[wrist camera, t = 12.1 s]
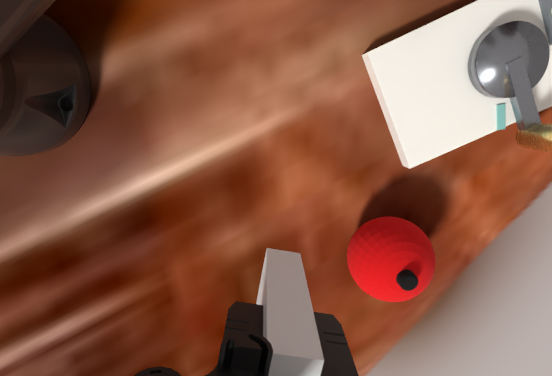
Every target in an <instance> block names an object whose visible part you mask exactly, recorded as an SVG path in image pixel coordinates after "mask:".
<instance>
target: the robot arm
mask: <svg viewBox="0 0 552 376" xmlns="http://www.w3.org/2000/svg"><path fill="white" fill-rule="evenodd" d="M55 1H56V0H0V155H6V156H25V155H32V154H37V153H42V152H46V151H49V150H52V149H55V148H57V147H59V146H61V145H62V144H64V143H65V142H67V141H68V140H69V139H70V138H71V137H73V136H74V134H75V133H76V132H77V131H78V130H79V128H80V127H81V125H82V124H83V122H84V120H85V117H86V115H87V112H88V108H89V104H90V96H91V86H90V77H89V73H88V69H87V66H86V63H85V60H84V58H83V56H82V54H81V52H80V50H79V48H78V46H77V45H76V43H75V42H74V40H73V39H72V38H71V37H70V35H69V34H68V33H67V32H66V31H65V30H64V29H63V28H62V27H61V26H60V25H59V24H58V23H57V22H55V21H54V20H53V19H51V18H50V17H48V16H47V15H45V14H44V12H45V11H46V10H47V9H48V8H49V7H50V6H51V5H52V4H53V3H54V2H55ZM135 376H181V375H180V374H179V373H178V372H176V371H174V370H172V369H171V368H166V367H152V368H148V369H145V370H143V371H140V372H138V373H137V374H136V375H135ZM205 376H358V373H357V370H356V367H355V364H354V361H353V358H352V355H351V352H350V349H349V346H348V345H347V341H346V338H345V337H344V332H343V329H342V326H341V324H340V323H339V322H338V320H337V319H336V318H335V317H334V316H333V315H331V314H324V313H317V312H313V308H312V304H311V299H310V295H309V291H308V286H307V282H306V277H305V273H304V268H303V264H302V259H301V255H300V253H294V252H288V251H282V250H276V249H270V248H267V250H266V255H265V260H264V266H263V271H262V276H261V281H260V286H259V292H258V297H257V302H256V304H250V303H244V302H237V301H236V302H235V303H234V304H233V305H232V306H231V307H230V308H229V309H228V315H227V320H226V325H225V331H224V336H223V341H222V344H221V348H220V354H219V360H218V364H217V366H216V367H215V369H214V370H213V371H212V372H210V373H209V374H208V375H205Z"/></svg>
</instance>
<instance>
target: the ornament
mask: <svg viewBox="0 0 552 376" xmlns="http://www.w3.org/2000/svg"><path fill="white" fill-rule="evenodd" d="M347 262H348V267H349V270H350V273H351V275H352V277H353V279H354V280H355V282H356V283H357V285H358V286H359V287H360V288H361V289H362V290H363V291H364V292H366V293H367V294H369V295H371V296H372V297H374V298H376V299H379V300H383V301H389V302H401V301H406V300H408V299H411V298H413V297H415V296H417V295H418V294H420V293H421V292H422V291H423V290H424V289H425V288H426V287H427V286H428V285H429V283H430V281H431V279H432V277H433V274H434V270H435V253H434V250H433V247H432V244H431V242H430V240H429V239H428V237H427V236H426V234H425V233H424V232H423V231H422V230H421V229H420V228H419V227H418V226H416V225H415V224H413V223H411V222H410V221H407V220H405V219H402V218H398V217H391V216H390V217H379V218H375V219H372V220H370V221H368V222H366V223H365V224H363V225H362V226H361V227H360V228H358V229H357V231H356V232H355V233H354V235H353V236H352V238H351V240H350V242H349V246H348V251H347Z"/></svg>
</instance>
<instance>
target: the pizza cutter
mask: <svg viewBox="0 0 552 376" xmlns="http://www.w3.org/2000/svg"><path fill="white" fill-rule="evenodd" d="M549 55H550V52H549V44H548V41H547V38H546V36H545V35H544V33H543V32H542V31H541V30H540V29H539V28H538V27H537V26H536V25H534V24H532V23H529V22H526V21H512V22H508V23H505V24H502V25H499V26H496V27H494V28H492V29H490V30H488V31H487V32H485V33H484V34H483V35H482V36H481V37H480V38H479V39H478V40H477V41H476V43H475V44H474V46H473V48H472V50H471V52H470V55H469V59H468V75H469V79H470V81H471V83H472V85H473V86H474V88H475V89H476V90H477V91H478V92H479V93H481V94H482V95H484V96H487V97H490V98H510V102H511V105H512V109H513V112H514V115H515V119H516V122H517V126H518V129H519V130H518V132H517V135H516V140H517V143H518V144H519V145H520V146H521V147H523V148H528V149H534V150H540V151H546V152H552V124H542V123H541V121H540V117H539V114H538V110H537V106H536V103H535V99H534V95H533V92H532V88H533V87H535V86H536V85H537V84H538V82H539V81H540V80H541V78H542V77H543V75H544V74H545V71H546V69H547V66H548V62H549Z"/></svg>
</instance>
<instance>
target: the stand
mask: <svg viewBox="0 0 552 376" xmlns="http://www.w3.org/2000/svg"><path fill="white" fill-rule="evenodd" d="M512 21H526V22H529V23H532V24H534V25H536V26H537V27H538V28H539V29H540V30H541V31H542V32H543V33H544V35H545V36H546V38H547V41H548V44H549V52H550V55H549V62H548V66H547V69H546V71H545V74H544V75H543V77H542V78H541V80H540V81H539V82H538V84H537V85H536V86H535V87H533V88H532V92H533V95H534V99H535V103H536V106H537V110H538V112H540V111H542V110H544V109H547V108H549V107H551V106H552V0H477V1H475V2H473V3H471V4H469V5H467V6H465V7H463V8H460V9H458V10H456V11H454V12H452V13H450V14H448V15H446V16H443V17H441V18H439V19H437V20H435V21H433V22H431V23H429V24H426V25H424V26H422V27H420V28H418V29H416V30H414V31H412V32H410V33H407V34H405V35H403V36H401V37H399V38H397V39H395V40H393V41H390V42H388V43H386V44H384V45H382V46H380V47H378V48H376V49H373V50H371V51H369V52H367V53H365V54H363V55H362V57H363V60H364V63H365V65H366V68H367V71H368V73H369V76H370V79H371V82H372V84H373V87H374V90H375V92H376V95H377V98H378V100H379V103H380V106H381V109H382V111H383V114H384V117H385V119H386V122H387V125H388V127H389V130H390V133H391V136H392V138H393V141H394V144H395V146H396V149H397V152H398V154H399V157H400V160H401V162H402V165H403V166H405V167H407V168H409V169H410V168H413V167H415V166H417V165H419V164H422V163H424V162H426V161H428V160H431V159H433V158H435V157H437V156H440V155H442V154H444V153H447V152H449V151H451V150H453V149H456V148H458V147H460V146H462V145H465V144H467V143H469V142H472V141H474V140H476V139H478V138H481V137H483V136H485V135H487V134H490V133H492V132H494V131H497V130H501V129H505V127H506V126H508V125H510V124H512V123H515V122H516V119H515V115H514V112H513V109H512V105H511V102H510V98H490V97H487V96H484V95H482V94H481V93H479V92H478V91H477V90H476V89H475V88H474V86H473V85H472V83H471V81H470V79H469V75H468V59H469V55H470V52H471V50H472V48H473V46H474V44H475V43H476V41H477V40H478V39H479V38H480V37H481V36H482V35H483V34H484V33H485V32H487V31H488V30H490V29H492V28H494V27H496V26H499V25H502V24H505V23H508V22H512Z"/></svg>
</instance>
